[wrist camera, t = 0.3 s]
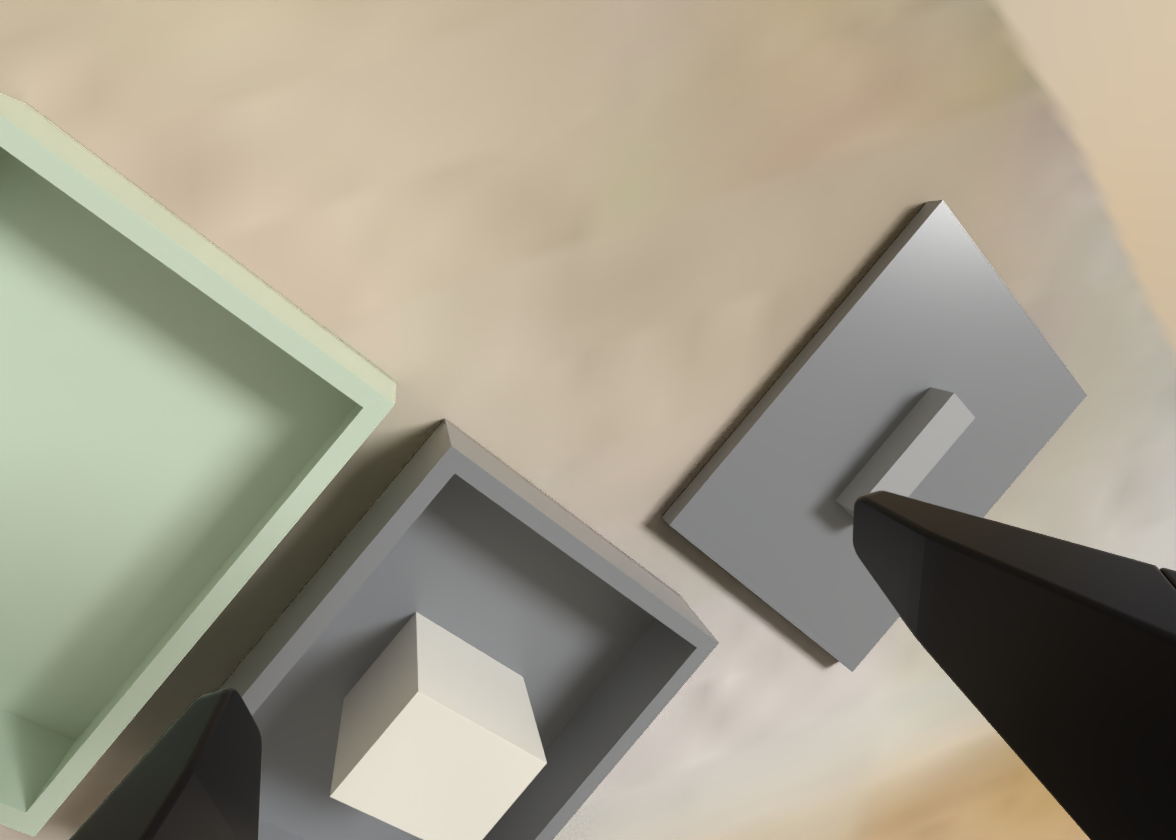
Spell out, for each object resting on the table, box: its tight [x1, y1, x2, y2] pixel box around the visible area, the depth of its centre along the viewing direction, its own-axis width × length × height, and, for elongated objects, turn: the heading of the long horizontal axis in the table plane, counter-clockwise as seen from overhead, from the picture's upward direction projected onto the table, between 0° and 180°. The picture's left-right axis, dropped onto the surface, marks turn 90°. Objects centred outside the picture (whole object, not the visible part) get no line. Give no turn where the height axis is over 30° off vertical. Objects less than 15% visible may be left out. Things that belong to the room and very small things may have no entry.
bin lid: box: [662, 200, 1087, 672], centre depth 26 cm, size 16×12×2 cm
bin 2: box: [219, 419, 719, 840], centre depth 23 cm, size 16×12×4 cm
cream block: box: [330, 612, 547, 840], centre depth 22 cm, size 4×5×4 cm
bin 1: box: [0, 93, 397, 837], centre depth 18 cm, size 16×12×4 cm
